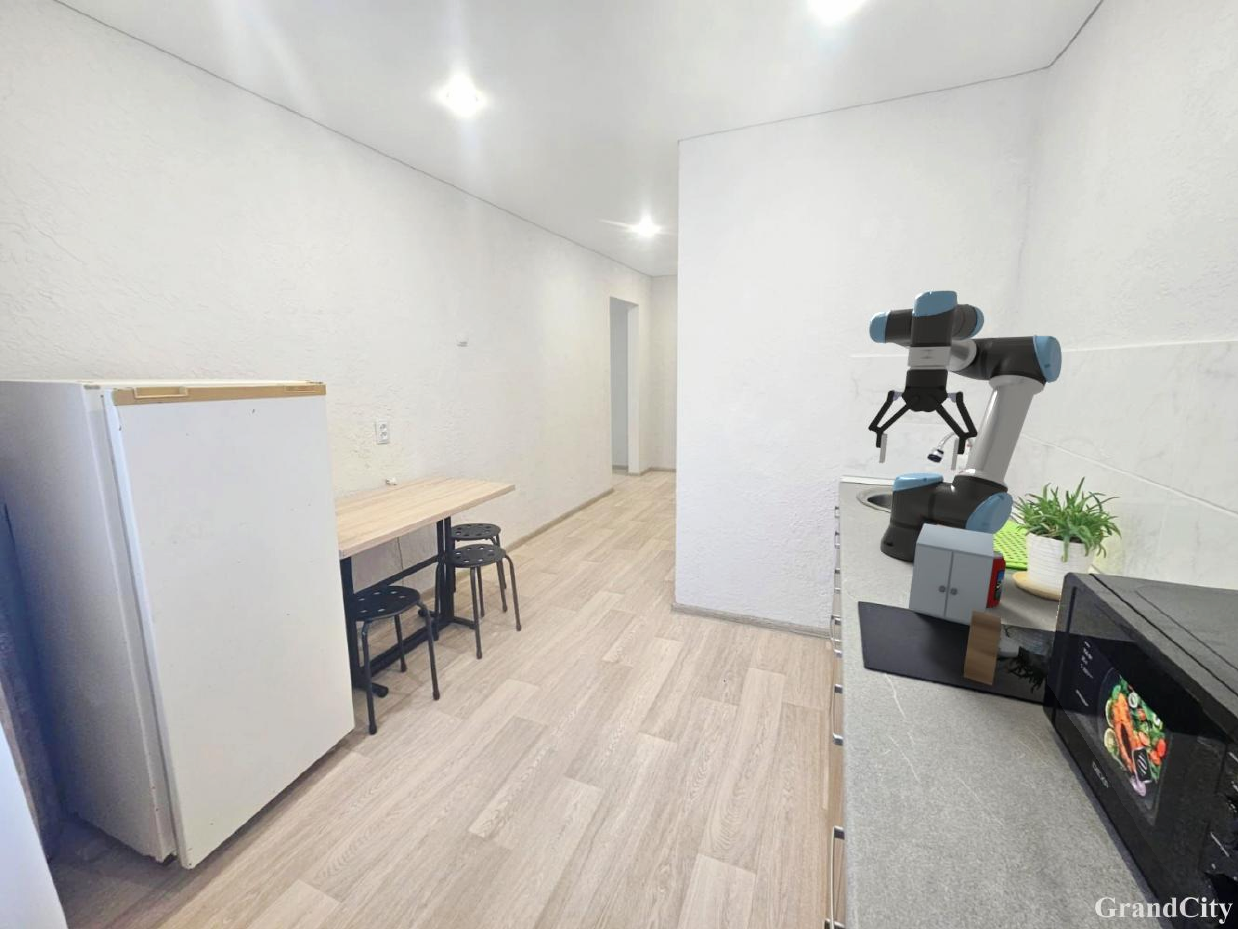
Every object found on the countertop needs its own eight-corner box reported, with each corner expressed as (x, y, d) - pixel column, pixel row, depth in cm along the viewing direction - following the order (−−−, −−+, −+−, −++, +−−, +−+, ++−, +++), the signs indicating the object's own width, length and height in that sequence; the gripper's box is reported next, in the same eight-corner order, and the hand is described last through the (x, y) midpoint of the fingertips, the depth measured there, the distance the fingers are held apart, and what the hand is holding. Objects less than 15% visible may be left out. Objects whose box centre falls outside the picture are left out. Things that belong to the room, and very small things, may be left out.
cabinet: (913, 607, 109) (924, 523, 105) (979, 624, 102) (993, 534, 98) (904, 638, 97) (915, 544, 93) (978, 659, 90) (993, 558, 86)
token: (985, 640, 97) (986, 631, 96) (1017, 648, 94) (1019, 639, 93) (984, 652, 93) (985, 642, 93) (1017, 661, 90) (1019, 651, 89)
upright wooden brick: (966, 633, 99) (973, 583, 97) (990, 639, 97) (998, 588, 94) (963, 677, 86) (972, 620, 83) (992, 685, 83) (1001, 627, 81)
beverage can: (1005, 610, 108) (1014, 559, 105) (971, 607, 109) (979, 557, 107) (989, 596, 114) (997, 547, 112) (957, 593, 116) (964, 546, 113)
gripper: (859, 368, 108) (851, 462, 112) (1001, 368, 93) (986, 475, 97) (866, 368, 114) (858, 456, 118) (1001, 367, 99) (986, 469, 103)
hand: (916, 465), depth 108 cm, fingers open, 13 cm apart
